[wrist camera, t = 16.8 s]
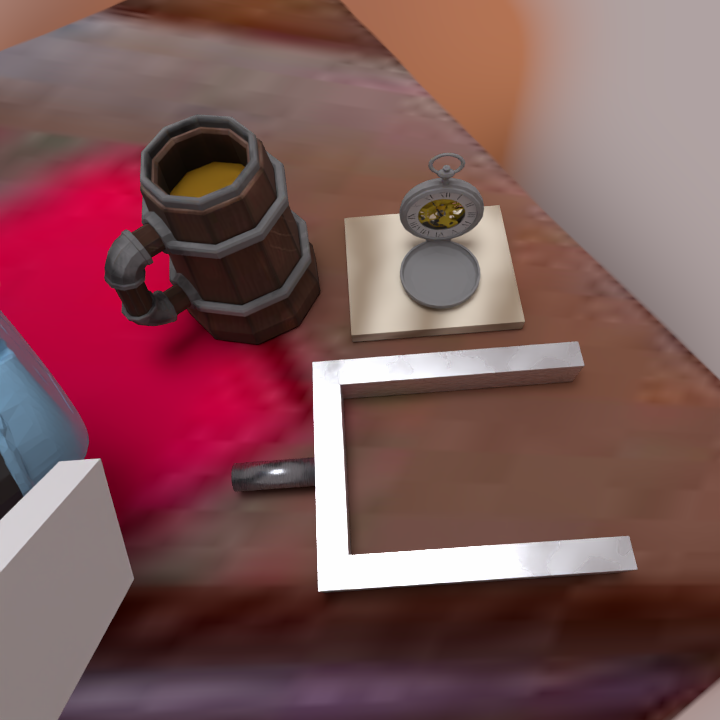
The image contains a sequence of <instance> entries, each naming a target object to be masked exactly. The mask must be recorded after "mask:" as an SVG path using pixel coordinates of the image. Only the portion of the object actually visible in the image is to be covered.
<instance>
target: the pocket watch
mask: <svg viewBox="0 0 720 720" xmlns="http://www.w3.org/2000/svg"><path fill="white" fill-rule="evenodd" d="M444 156H452V157H456V158H458V159H459V160H460V161H461V165H460V167H459V168H458V169H456V170H455V171H454V170H452V169H450V166H448V165H445V166H444V167H443V169H441V170H439V171H437V170H435V169H434V167H433V165H432V164H433V162H434V161H435V160H436V159H438V158H440V157H444ZM464 165H465V160H464V159H463V158H462V157H461V156H459V155H457V154H454V153H443V154H439V155H437V156H435V157H433V158H432V159H431V160H430V162H429V169H430V170H431V171H432V172H434V173H436V174H437V175H438V176H439V177H440V178H437V179H432V180H428V181H425V182H423V183H421V184H418V185H417V186H415V187H414V188H412V189H411V190H410V191H409V192H408V193H407V194H406V195H405V197H404V199H403V201H402V204H401V206H400V215H399V216H400V221H401V223H402V225H403V227H404V228H405V230H407V231H408V232H410V233H411V234H412V235H414V236H416V237H419V238H422V239H426V241H425V242H422V243H420V244H418V245H416V246H414V247H413V248H412V249H411V250H410V251H409V252H408V253H407V254H406V255H405V257H404V259H403V261H402V263H401V268H400V279H401V283H402V285H403V288H404V290H405V292H406V293H407V294H408V295H409V296H410V297H411V298H412V299H413V300H415V301H416V302H418V303H419V304H421V305H424V306H427V307H431V308H437V309H445V308H452V307H454V306H457V305H460V304H462V303H463V302H465V301H466V300H468V299H469V298H470V297H471V296H472V295H473V294H474V292H475V291H476V289H477V287H478V285H479V281H480V267H479V263H478V261H477V259H476V257H475V256H474V255H473V254H472V252H471V251H470V250H469V249H467V248H466V247H464V246H463V245H461V244H458V243H456V242H453V241H451V239H453V238H456V237H459V236H462V235H464V234H465V233H467V232H469V231H471V230H472V229H473V228H474V227H475V226H477V225H478V223H479V222H480V220H481V219H482V217H483V213H484V205H483V199H482V197H481V195H480V193H479V192H478V190H477V189H476V188H475V187H474V186H472V185H471V184H470V183H468V182H465V181H463V180H460V179H454V178H451V177H453V176H454V174H455V173H457V172H459V171H460V170H462V169H463V167H464ZM454 202H456V204H452V203H454ZM457 202H458V203H457ZM459 204H460V205H462V206H463V207H457V206H459ZM454 205H455V206H456V205H457V206H456V207H454ZM446 207H447V208H446ZM445 208H446V209H445ZM461 209H462V211H461V213H459V214H453V213H456V212H453V211H457V212H458V211H459V210H461ZM420 211H421V212H424V213H421V212H420ZM436 212H438V213H437V215H436V214H435V213H436ZM432 214H433V215H435V216H436V218H434V219H429V217H430V215H432ZM422 215H424V216H422ZM452 215H453V216H454V217H453V216H452ZM427 216H428V217H427ZM450 216H452V218H450Z"/></svg>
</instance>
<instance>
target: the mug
mask: <svg viewBox="0 0 720 720" xmlns="http://www.w3.org/2000/svg"><path fill="white" fill-rule="evenodd" d="M140 182H141V186H140V191H141V193H142V196H143V201H142V224H143V226H142V227H140V228H138V229H137V230H135V231H134V232H132V233H131V232H130V231H128V230H124V231H123V232H122V234H121V235H120V236H119V237H118V238H117V239H116V240H115V241H114V243H113V244H112V246H111V248H110V249H109V251H108V255H107V259H106V263H105V277H104V278H105V281H106V282H107V283H108V284H109V285H110V286H111V287H112V288H115V290H116V292H117V293H118V295H119V297H120V299H121V301H122V313H123V314H124V315H125V316H126V318H127V319H128V320H129V321H133V322H134V323H136V324H138V325H146V326H158V325H163V324H167V323H170V322H174V321H176V320H177V315H178V314H179V313H181V312H182V311H184V310H185V309H187V310H188V311H189V313H190V314H191V315H192V316H193V317H194V318H195V319H196V320H197V321H198V322H199V323H200V324H201V325H202V326H203V327H204V328H205V329H206V330H207V331H208V332H209V333H210V334H211V335H212V336H213V337H214V338H215V339H219V340H227V341H235V342H243V343H251V344H260V343H262V342H264V341H266V340H269V339H271V338H273V337H275V336H277V335H279V334H282V333H284V332H286V331H288V330H290V329H292V328H295V327H297V326H299V324H300V323H301V321H302V320H303V318H304V316H305V315H306V313H307V312H308V310H309V309H310V307H311V305H312V304H313V302H314V301H315V299H316V298H317V296H318V294H319V293H320V287H319V280H318V273H317V265H316V258H315V253H314V249H313V245H312V244H311V243H310V242H309V240H308V232H307V226H306V222H305V221H304V220H303V219H302V218H300V217H299V216H298V215H297V214H295V213H294V212H293V211H292V210H290V207H289V203H288V195H287V186H286V178H285V170H284V166H283V164H282V163H281V162H280V161H278V160H277V159H276V158H274V157H273V156H272V155H270V154H269V153H268V152H266V150H265V148H264V146H263V144H262V141H260V140H259V139H258V138H256V135H255V134H253V133H252V132H251V131H249V130H248V129H247V128H245V127H244V126H243V125H241V124H240V123H239V122H238V121H236V120H235V119H234V118H232V117H226V116H211V115H194V116H192V117H189V118H187V119H184V120H182V121H179V122H176V123H174V124H171V125H169V126H166V127H164V128H163V129H162V130H161V131H160V132H159V133H158V134H157V135H156V136H155V138H154V139H153V140H152V141H151V142H150V143H149V144H148V145H147V146H146V148H145V149H144V150H143V151H142V152H141V173H140ZM161 251H163V252H164V253H166V254H169V256H170V282H171V283H172V285H173V286H172V287H171V288H169V289H167V290H166V291H164V292H162V291H155V292H154V293H152V292H151V291H148V289H147V287H146V285H145V283H144V281H145V269H144V268H145V267H146V266H147V265H150V264H152V263H153V260H152V257H153V256H155V255H156V254H158V253H160V252H161Z"/></svg>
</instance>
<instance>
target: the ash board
mask: <svg viewBox="0 0 720 720" xmlns="http://www.w3.org/2000/svg"><path fill="white" fill-rule="evenodd" d="M461 211H462V209H461V210H459V211H458V212H457V211H453V212H456V213H453V214H459V213H461ZM421 213H424V212H421ZM437 213H438V212H436V213H435V214H436V215H437ZM399 215H400V214H390V215H378V216H366V217H354V218H344V219H345V235H346V252H347V268H348V285H349V301H350V318H351V335H352V342H358V341H371V340H384V339H397V338H409V337H422V336H435V335H447V334H460V333H473V332H485V331H498V330H511V329H522V327H523V325H524V322H525V320H524V315H523V311H522V306H521V302H520V297H519V292H518V288H517V283H516V279H515V274H514V270H513V265H512V260H511V256H510V251H509V247H508V242H507V237H506V233H505V228H504V224H503V219H502V215H501V210H500V205H497V206H485V207H484V213H483V217H482V219H481V220H480V222H479V223H478V225H477V226H475V227H474V228H473V229H472V230H471V231H469V232H467V233H465V234H464V235H462V236H459V237H456V238H453V239H451V241H453V242H456V243H458V244H461V245H463V246H464V247H466V248H467V249H469V250H470V251H471V252H472V254H473V255H474V256H475V257H476V259H477V261H478V263H479V267H480V281H479V285H478V287H477V289H476V291H475V292H474V294H473V295H472V296H471V297H470V298H469V299H468V300H466V301H465V302H463V303H462V304H460V305H457V306H454V307H452V308H445V309H437V308H431V307H427V306H424V305H421V304H419V303H418V302H416V301H415V300H413V299H412V298H411V297H410V296H409V295H408V294H407V293H406V292H405V290H404V288H403V285H402V283H401V279H400V268H401V263H402V261H403V259H404V257H405V255H406V254H407V253H408V252H409V251H410V250H411V249H412V248H413V247H414V246H416V245H418V244H420V243H422V242H425V241H426V239H422V238H419V237H416V236H414V235H412V234H411V233H410V232H408V231H407V230H405V228H404V227H403V225H402V223H401V221H400V216H399ZM422 216H424V215H422ZM452 216H453V215H452ZM452 216H450V218H452ZM427 217H428V216H427ZM453 217H454V216H453ZM434 218H436V216H435V215H433V214H432V215H430V217H429V219H434Z"/></svg>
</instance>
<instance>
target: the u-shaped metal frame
mask: <svg viewBox="0 0 720 720" xmlns="http://www.w3.org/2000/svg"><path fill="white" fill-rule="evenodd" d="M583 367H584V363H583V359H582V355H581V351H580V347H579V344H578V342H565V343H552V344H540V345H527V346H514V347H501V348H488V349H475V350H463V351H450V352H437V353H424V354H411V355H399V356H386V357H373V358H360V359H347V360H335V361H322V362H313V398H314V438H315V457H314V458H301V459H287V460H274V461H260V462H246V463H234V465H233V467H232V486H233V489H234V491H235V492H237V491H250V490H264V489H278V488H292V487H306V486H316V519H317V559H318V591H320V592H323V593H327V592H342V591H357V590H371V589H386V588H401V587H416V586H430V585H445V584H460V583H475V582H490V581H504V580H519V579H534V578H549V577H563V576H578V575H593V574H608V573H621V572H626V571H632V570H637V565H636V561H635V557H634V554H633V550H632V546H631V542H630V538H629V536H622V537H607V538H593V539H578V540H564V541H549V542H535V543H520V544H506V545H492V546H477V547H463V548H448V549H434V550H419V551H405V552H391V553H376V554H362V555H351V541H350V521H349V501H348V481H347V461H346V441H345V421H344V402H343V399H350V398H363V397H376V396H389V395H403V394H416V393H429V392H442V391H455V390H468V389H481V388H494V387H507V386H520V385H534V384H547V383H560V382H572V381H573V380H574V378H575V377H576V376H577V374H578V373H579V372H580V371H581V369H582V368H583Z"/></svg>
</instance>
